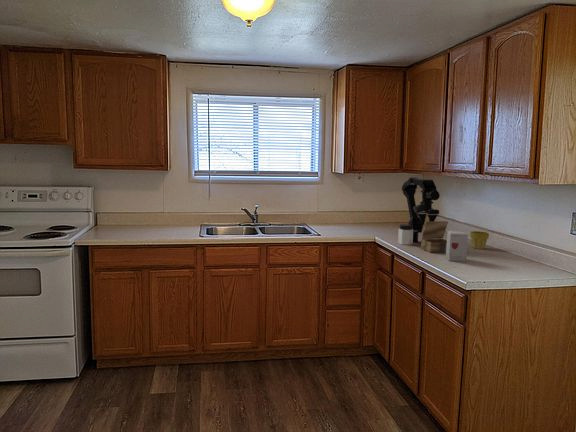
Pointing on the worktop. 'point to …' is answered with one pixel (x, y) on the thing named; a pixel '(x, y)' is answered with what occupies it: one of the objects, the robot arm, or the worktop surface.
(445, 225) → the lid
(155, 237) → the worktop surface
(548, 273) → the worktop surface
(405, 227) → the jar
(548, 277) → the worktop surface
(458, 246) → the supplement box
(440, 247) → the cardboard box
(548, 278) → the worktop surface
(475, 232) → the plant pot
